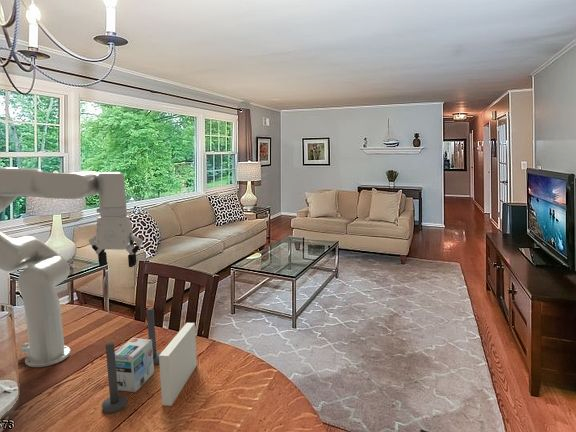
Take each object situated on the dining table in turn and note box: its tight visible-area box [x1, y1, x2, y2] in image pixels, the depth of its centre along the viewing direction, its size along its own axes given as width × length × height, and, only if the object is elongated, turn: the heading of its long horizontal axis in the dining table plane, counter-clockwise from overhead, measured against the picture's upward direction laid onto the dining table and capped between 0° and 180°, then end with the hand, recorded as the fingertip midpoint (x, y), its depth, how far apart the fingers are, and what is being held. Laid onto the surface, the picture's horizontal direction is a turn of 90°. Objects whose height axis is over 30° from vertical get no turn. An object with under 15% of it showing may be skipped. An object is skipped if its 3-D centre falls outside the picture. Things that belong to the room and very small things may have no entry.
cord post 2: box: [146, 307, 162, 366], centre depth 125 cm, size 6×6×17 cm
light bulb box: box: [115, 337, 155, 393], centre depth 114 cm, size 11×7×11 cm, turn 170°
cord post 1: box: [101, 342, 128, 414], centre depth 103 cm, size 6×6×17 cm
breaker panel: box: [159, 322, 198, 407], centre depth 113 cm, size 4×20×14 cm, turn 174°
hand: (117, 265), depth 125 cm, fingers open, 9 cm apart
